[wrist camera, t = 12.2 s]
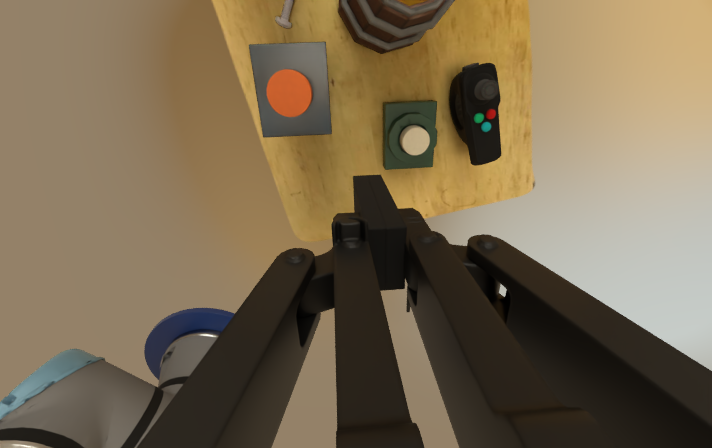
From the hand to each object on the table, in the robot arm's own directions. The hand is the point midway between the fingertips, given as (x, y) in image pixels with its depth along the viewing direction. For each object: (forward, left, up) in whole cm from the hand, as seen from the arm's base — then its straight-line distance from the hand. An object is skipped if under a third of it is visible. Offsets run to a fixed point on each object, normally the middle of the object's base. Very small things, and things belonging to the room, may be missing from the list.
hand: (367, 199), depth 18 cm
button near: (+5, +5, -13) cm, 15 cm away
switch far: (-2, -9, -30) cm, 32 cm away
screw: (+14, +6, -31) cm, 34 cm away
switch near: (+5, +5, -30) cm, 31 cm away
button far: (-2, -9, -27) cm, 28 cm away
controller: (+1, -17, -31) cm, 35 cm away
